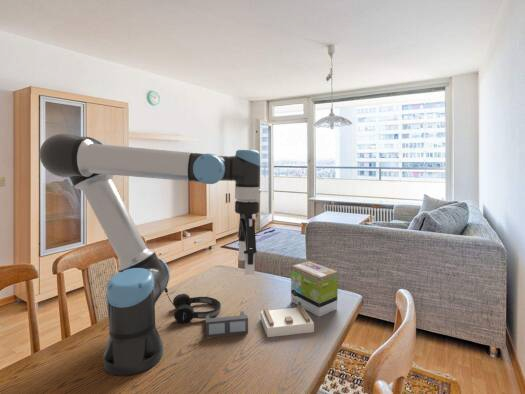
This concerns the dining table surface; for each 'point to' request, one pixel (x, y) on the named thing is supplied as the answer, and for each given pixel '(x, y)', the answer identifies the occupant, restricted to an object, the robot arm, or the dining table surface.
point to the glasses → (226, 325)
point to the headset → (187, 313)
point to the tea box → (314, 287)
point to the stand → (286, 321)
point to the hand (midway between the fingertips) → (245, 266)
